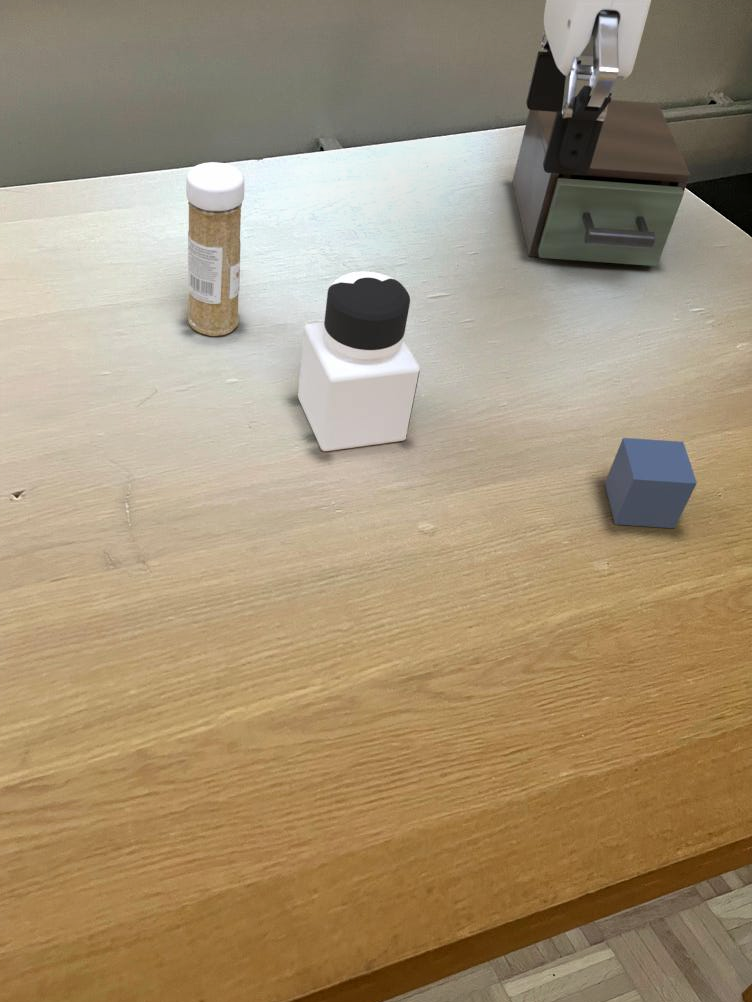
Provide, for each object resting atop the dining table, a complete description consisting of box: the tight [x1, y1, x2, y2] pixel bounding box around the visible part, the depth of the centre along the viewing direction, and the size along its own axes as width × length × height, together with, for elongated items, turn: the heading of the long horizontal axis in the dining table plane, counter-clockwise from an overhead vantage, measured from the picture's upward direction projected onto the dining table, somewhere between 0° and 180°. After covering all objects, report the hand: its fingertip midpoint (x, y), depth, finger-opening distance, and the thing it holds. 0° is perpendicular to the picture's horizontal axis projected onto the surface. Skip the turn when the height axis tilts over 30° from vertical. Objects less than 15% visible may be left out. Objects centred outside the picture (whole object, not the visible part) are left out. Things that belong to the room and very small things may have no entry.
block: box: [604, 437, 698, 529], centre depth 79 cm, size 5×5×5 cm
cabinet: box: [511, 99, 691, 258], centre depth 104 cm, size 15×13×9 cm
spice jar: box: [185, 161, 245, 337], centre depth 87 cm, size 5×5×13 cm
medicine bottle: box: [297, 270, 421, 452], centre depth 81 cm, size 7×7×12 cm
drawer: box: [538, 174, 685, 267], centre depth 101 cm, size 18×11×7 cm, turn 178°
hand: (555, 139), depth 78 cm, fingers open, 9 cm apart
